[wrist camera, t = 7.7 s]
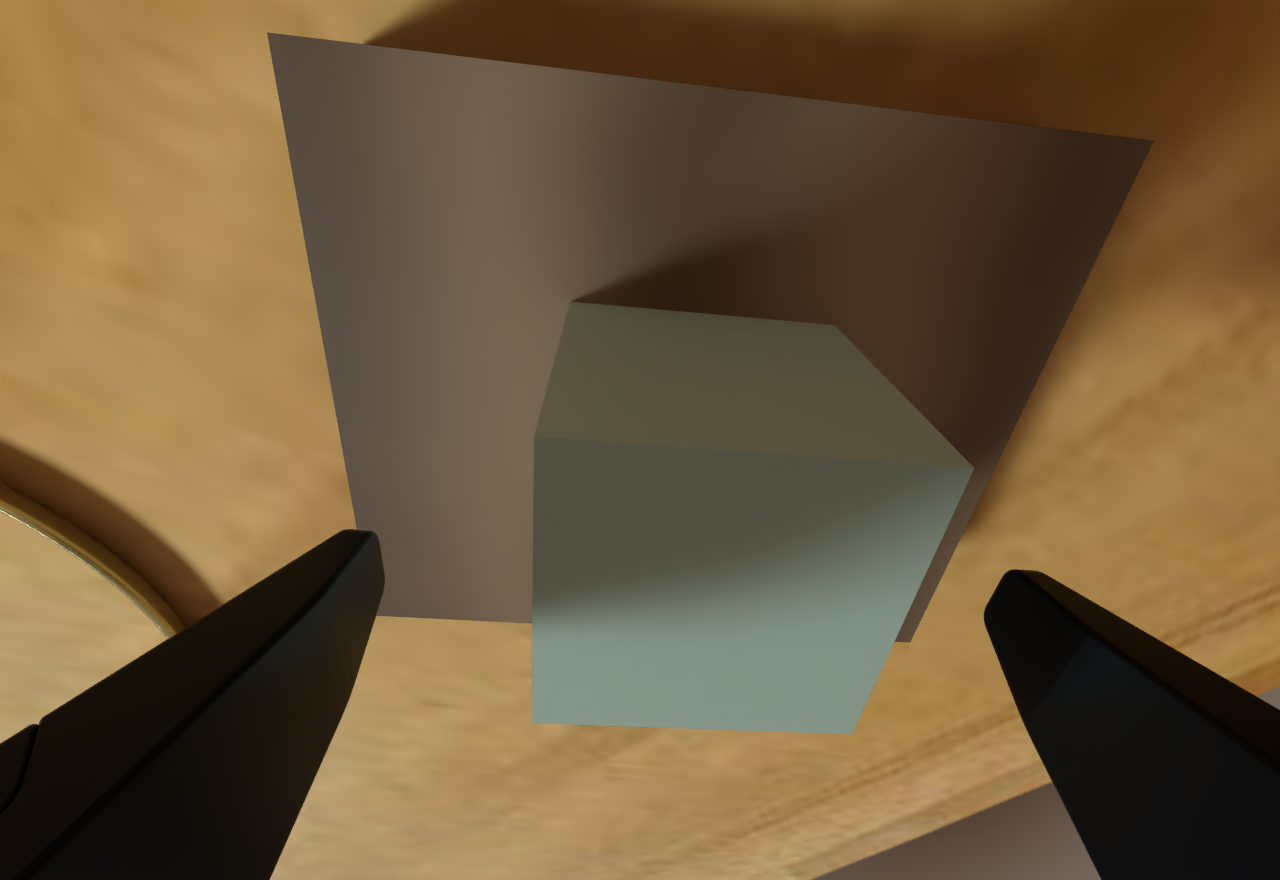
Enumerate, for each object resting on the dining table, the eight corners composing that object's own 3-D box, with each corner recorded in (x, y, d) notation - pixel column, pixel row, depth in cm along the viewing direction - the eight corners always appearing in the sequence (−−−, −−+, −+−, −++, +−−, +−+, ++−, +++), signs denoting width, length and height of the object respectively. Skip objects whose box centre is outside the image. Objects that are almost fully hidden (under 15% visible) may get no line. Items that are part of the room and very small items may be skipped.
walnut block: (1038, 133, 12) (1153, 140, 9) (868, 565, 18) (909, 642, 15) (350, 50, 11) (266, 32, 8) (410, 537, 17) (372, 615, 14)
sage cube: (834, 325, 11) (974, 467, 7) (776, 531, 13) (851, 733, 9) (569, 301, 11) (533, 436, 6) (561, 518, 13) (531, 723, 9)
